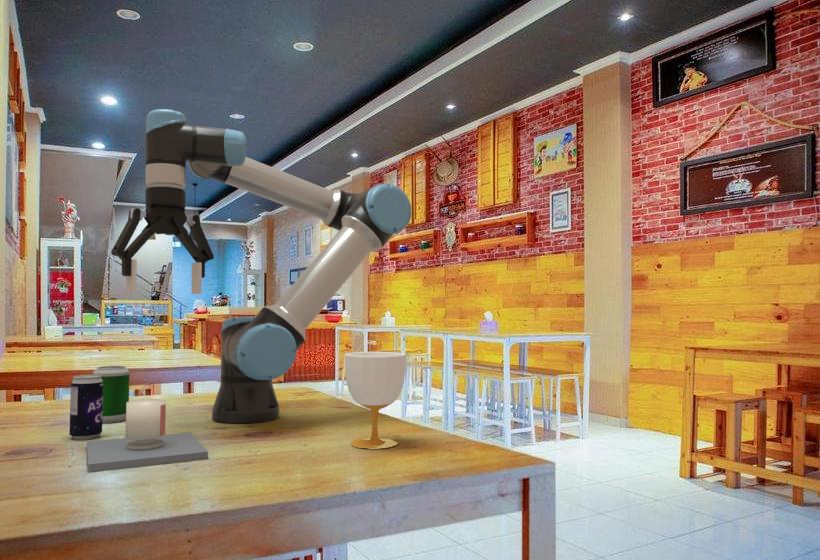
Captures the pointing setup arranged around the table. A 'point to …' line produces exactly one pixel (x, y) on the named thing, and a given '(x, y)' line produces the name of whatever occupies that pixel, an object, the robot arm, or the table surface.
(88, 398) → the beverage can
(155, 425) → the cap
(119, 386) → the soda can
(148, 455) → the flat gray rectangular base
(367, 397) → the cup
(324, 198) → the robot arm
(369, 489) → the table surface
